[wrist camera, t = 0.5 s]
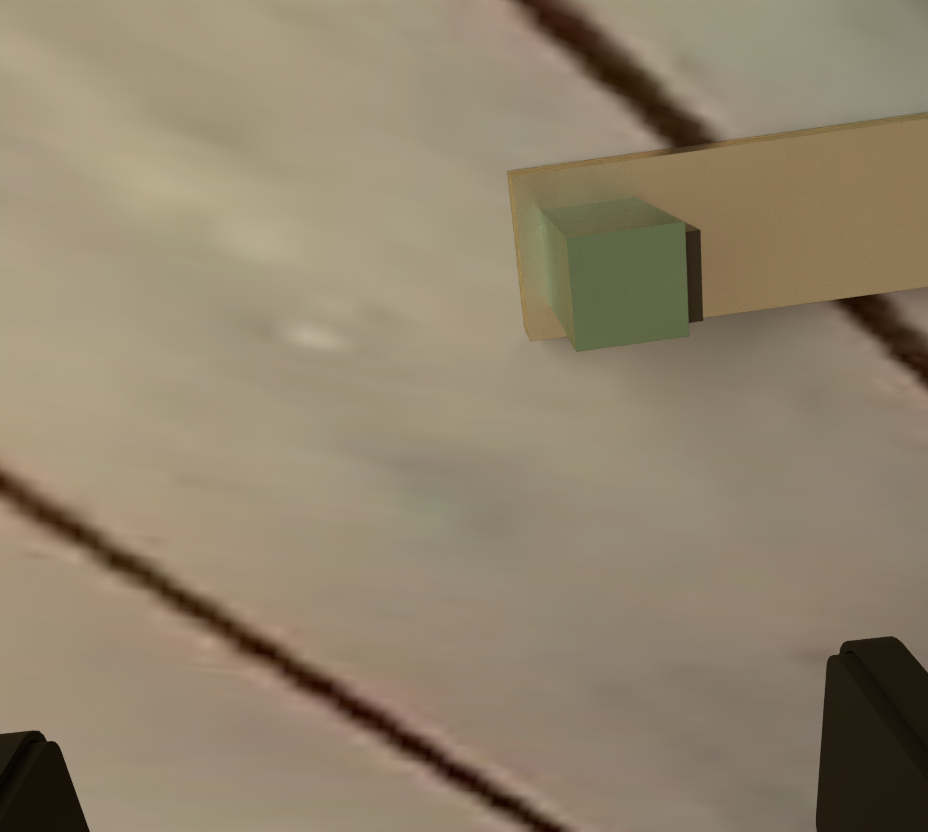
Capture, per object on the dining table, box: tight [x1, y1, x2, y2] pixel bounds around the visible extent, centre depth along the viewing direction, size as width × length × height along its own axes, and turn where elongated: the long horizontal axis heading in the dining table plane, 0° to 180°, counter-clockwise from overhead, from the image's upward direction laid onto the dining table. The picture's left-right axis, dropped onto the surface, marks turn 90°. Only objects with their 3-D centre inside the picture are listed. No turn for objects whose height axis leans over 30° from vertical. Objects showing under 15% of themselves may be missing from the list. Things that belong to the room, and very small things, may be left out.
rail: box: [507, 112, 928, 352], centre depth 33 cm, size 7×26×10 cm, turn 97°
